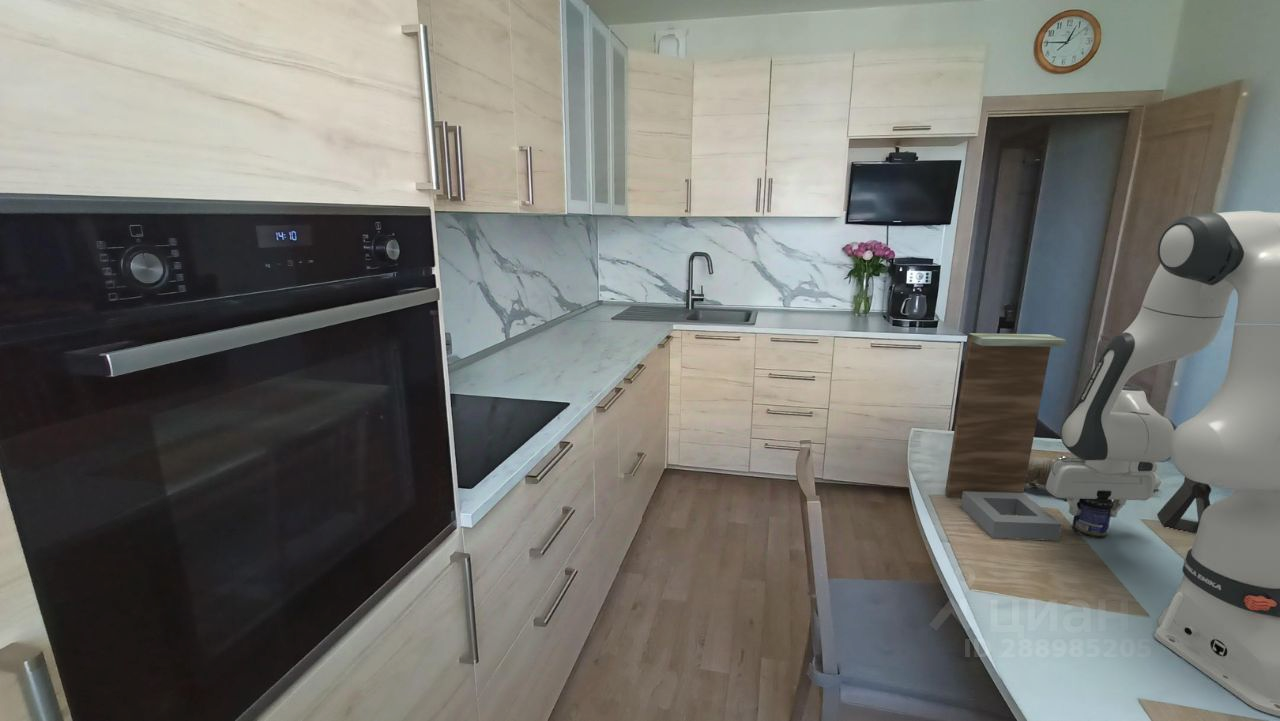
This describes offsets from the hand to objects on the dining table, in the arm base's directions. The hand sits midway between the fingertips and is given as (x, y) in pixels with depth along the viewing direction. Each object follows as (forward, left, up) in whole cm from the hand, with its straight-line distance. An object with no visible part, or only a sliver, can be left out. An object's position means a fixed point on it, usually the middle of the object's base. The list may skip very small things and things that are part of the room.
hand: (1092, 515), depth 125 cm
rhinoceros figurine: (+18, -3, -4) cm, 18 cm away
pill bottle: (0, 0, -4) cm, 4 cm away
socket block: (+3, +16, -4) cm, 17 cm away
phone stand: (+4, -24, -4) cm, 25 cm away
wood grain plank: (+13, +15, -4) cm, 20 cm away
